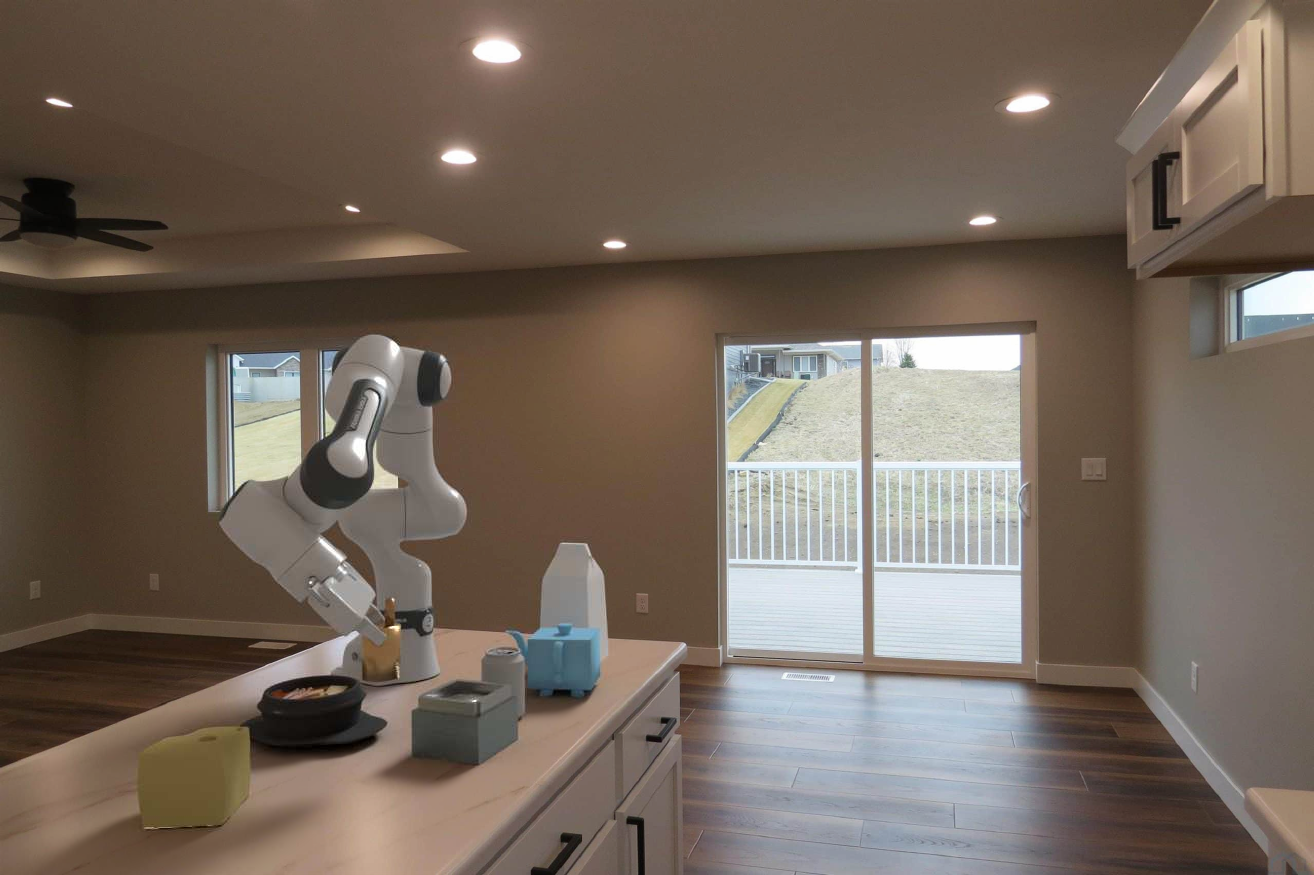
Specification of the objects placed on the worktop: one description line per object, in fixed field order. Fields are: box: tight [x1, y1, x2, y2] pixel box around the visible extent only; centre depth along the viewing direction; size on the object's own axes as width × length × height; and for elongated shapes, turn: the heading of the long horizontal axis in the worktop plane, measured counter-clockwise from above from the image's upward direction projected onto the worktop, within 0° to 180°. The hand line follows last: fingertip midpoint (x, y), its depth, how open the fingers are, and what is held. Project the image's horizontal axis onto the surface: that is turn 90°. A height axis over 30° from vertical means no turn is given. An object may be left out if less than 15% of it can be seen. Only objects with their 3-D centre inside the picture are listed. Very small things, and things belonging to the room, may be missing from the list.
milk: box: [539, 542, 610, 663], centre depth 193 cm, size 12×12×26 cm
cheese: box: [136, 726, 251, 829], centre depth 116 cm, size 10×11×10 cm
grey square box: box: [410, 678, 519, 766], centre depth 140 cm, size 12×12×9 cm
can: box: [480, 646, 526, 720], centre depth 155 cm, size 8×8×12 cm
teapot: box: [505, 623, 601, 698], centre depth 172 cm, size 18×16×13 cm
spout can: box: [361, 598, 401, 682], centre depth 130 cm, size 6×6×12 cm
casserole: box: [238, 674, 388, 749], centre depth 146 cm, size 25×19×8 cm
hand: (385, 635), depth 131 cm, fingers closed on spout can, 6 cm apart
